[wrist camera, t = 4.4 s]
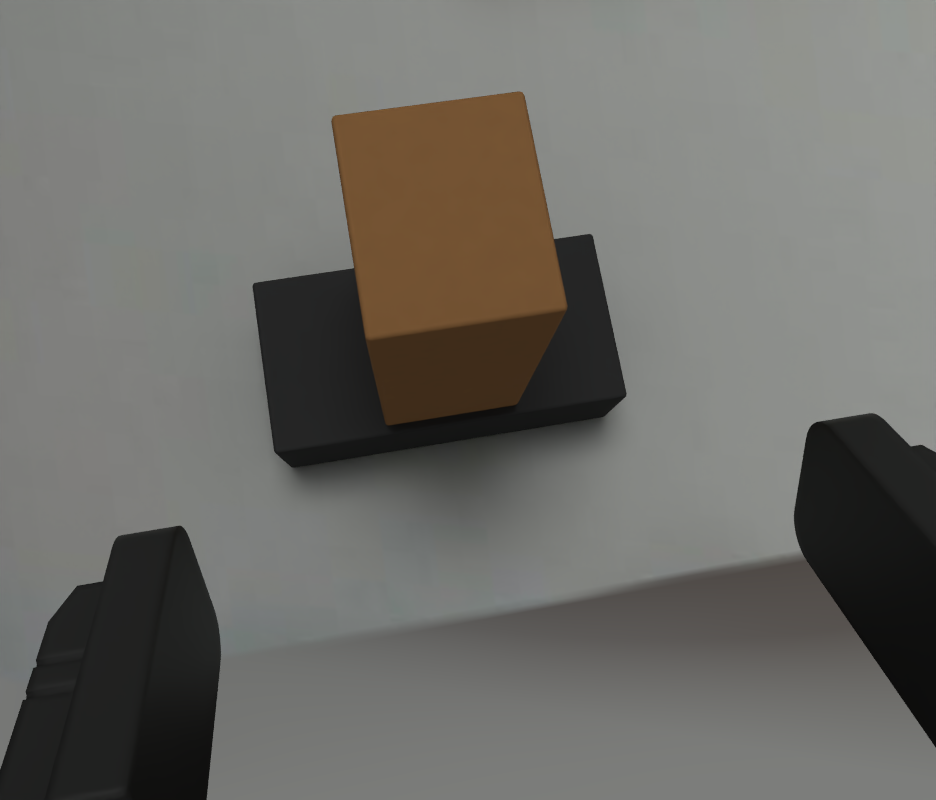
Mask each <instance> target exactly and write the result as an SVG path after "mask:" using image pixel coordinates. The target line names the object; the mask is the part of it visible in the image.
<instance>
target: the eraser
mask: <svg viewBox="0 0 936 800" xmlns="http://www.w3.org/2000/svg"><path fill="white" fill-rule="evenodd" d="M331 122H332V128H333V135H334V141H335V148H336V154H337V160H338V167H339V173H340V180H341V186H342V192H343V199H344V205H345V212H346V218H347V224H348V231H349V237H350V244H351V250H352V257H353V263H354V269H347V270H340V271H333V272H326V273H319V274H313V275H306V276H299V277H292V278H285V279H278V280H271V281H264V282H258V283H254V284H253V293H254V301H255V308H256V316H257V324H258V331H259V339H260V346H261V354H262V362H263V369H264V377H265V385H266V392H267V400H268V407H269V415H270V423H271V430H272V438H273V446H274V451H275V453H276V454H277V455H278V456H279V457H281V458H282V459H283V460H284V461H285V462H286V463H287V464H289V465H290V466H291V467H300V466H306V465H312V464H318V463H324V462H330V461H337V460H343V459H349V458H355V457H361V456H367V455H373V454H379V453H385V452H391V451H397V450H404V449H410V448H416V447H422V446H428V445H434V444H440V443H446V442H452V441H458V440H465V439H471V438H477V437H483V436H489V435H495V434H501V433H507V432H513V431H519V430H525V429H532V428H538V427H544V426H550V425H556V424H562V423H568V422H574V421H580V420H586V419H593V418H599V417H603V416H605V415H606V414H607V413H608V412H609V411H610V410H612V409H613V408H614V407H615V406H616V405H617V404H618V403H619V402H620V401H621V400H622V399H623V398H625V397H626V389H625V385H624V380H623V375H622V371H621V366H620V361H619V357H618V352H617V347H616V343H615V338H614V333H613V329H612V324H611V319H610V315H609V310H608V305H607V301H606V296H605V291H604V287H603V282H602V277H601V273H600V268H599V263H598V259H597V254H596V249H595V245H594V240H593V236H592V235H591V234H587V235H580V236H573V237H566V238H559V239H554V238H553V233H552V228H551V223H550V218H549V213H548V208H547V203H546V198H545V194H544V189H543V184H542V179H541V174H540V169H539V164H538V159H537V155H536V150H535V145H534V140H533V135H532V130H531V125H530V120H529V115H528V111H527V106H526V101H525V96H524V94H523V93H522V92H512V93H505V94H497V95H489V96H482V97H474V98H466V99H459V100H451V101H443V102H436V103H428V104H421V105H413V106H405V107H398V108H390V109H382V110H375V111H367V112H359V113H352V114H344V115H336V116H334V117H333V118H332V121H331Z"/></svg>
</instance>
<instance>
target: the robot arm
mask: <svg viewBox="0 0 936 800" xmlns="http://www.w3.org/2000/svg"><path fill="white" fill-rule="evenodd" d="M794 525H795V531H796V536H797V540H798V543H799V546H800V548H801V551H802V553H803V555H804V557H805V558H806V560H807V562H808V563H809V565H810V566H811V567H812V569H813V570H814V572H815V573H816V575H817V576H818V578H819V579H820V580H821V582H822V583H823V585H824V586H825V588H826V589H827V591H828V592H829V593H830V595H831V596H832V598H833V599H834V601H835V602H836V604H837V605H838V607H839V608H840V609H841V611H842V612H843V614H844V615H845V616H846V618H847V620H848V621H849V622H850V624H851V625H852V627H853V628H854V629H855V631H856V632H857V634H858V635H859V637H860V638H861V640H862V641H863V643H864V644H865V646H866V647H867V648H868V650H869V651H870V653H871V654H872V656H873V657H874V659H875V660H876V661H877V663H878V664H879V666H880V667H881V669H882V670H883V672H884V673H885V675H886V676H887V677H888V679H889V680H890V682H891V683H892V685H893V686H894V688H895V689H896V690H897V692H898V693H899V695H900V696H901V698H902V699H903V700H904V702H905V704H906V705H907V706H908V708H909V709H910V711H911V712H912V714H913V715H914V716H915V718H916V719H917V721H918V722H919V724H920V725H921V727H922V728H923V730H924V731H925V733H926V734H927V735H928V737H929V738H930V740H931V741H932V743H933V744H934V746H935V747H936V452H934V451H932V450H930V449H928V448H926V447H925V446H923V445H917V446H911V447H910V446H909V445H908V443H907V442H906V441H905V440H904V439H903V438H902V437H901V436H900V435H899V434H898V433H897V432H896V431H895V430H894V429H893V428H892V427H891V426H890V425H889V424H888V423H887V422H886V421H885V420H884V419H883V418H881V417H880V416H878V415H876V414H873V413H869V414H863V415H857V416H851V417H845V418H839V419H833V420H827V421H821V422H816V423H814V424H813V425H812V426H811V427H810V428H809V430H808V433H807V437H806V443H805V449H804V455H803V461H802V467H801V473H800V479H799V486H798V492H797V498H796V504H795V511H794ZM220 660H221V646H220V634H219V627H218V622H217V617H216V613H215V610H214V607H213V604H212V601H211V599H210V596H209V593H208V590H207V587H206V584H205V582H204V579H203V576H202V573H201V570H200V567H199V565H198V562H197V559H196V556H195V553H194V550H193V548H192V545H191V542H190V539H189V537H188V534H187V532H186V530H185V529H184V528H183V527H182V526H175V527H169V528H163V529H157V530H151V531H145V532H139V533H133V534H127V535H121V536H118V537H117V538H116V540H115V541H114V544H113V547H112V550H111V554H110V558H109V561H108V565H107V569H106V573H105V576H104V580H103V582H97V583H91V584H86V585H80V586H77V587H76V588H75V589H74V590H73V592H72V593H71V594H70V595H69V597H68V598H67V599H66V600H65V602H64V603H63V604H62V605H61V607H60V608H59V609H58V611H57V612H56V613H55V614H54V616H53V617H52V618H51V619H50V621H49V622H48V625H47V628H46V631H45V634H44V637H43V640H42V643H41V646H40V649H39V652H38V656H37V659H36V662H37V667H35V668H33V671H32V674H31V677H30V680H29V683H28V686H27V689H26V695H27V698H26V700H23V702H22V705H21V708H20V711H19V714H18V717H17V720H16V723H15V726H14V729H13V732H12V736H11V739H10V742H9V745H8V748H7V751H6V754H5V757H4V760H3V764H2V766H1V769H0V800H206V798H207V789H208V779H209V770H210V760H211V750H212V739H213V730H214V720H215V711H216V700H217V691H218V681H219V671H220Z"/></svg>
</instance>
